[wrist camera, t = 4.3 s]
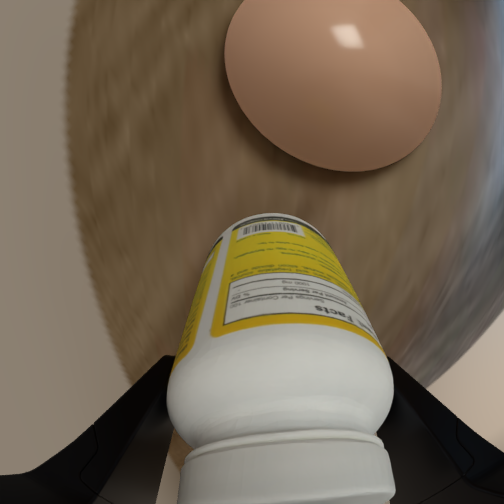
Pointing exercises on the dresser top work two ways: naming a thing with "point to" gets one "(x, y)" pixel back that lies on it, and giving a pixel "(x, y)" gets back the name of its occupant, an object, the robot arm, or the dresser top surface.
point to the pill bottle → (279, 376)
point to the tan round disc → (335, 79)
